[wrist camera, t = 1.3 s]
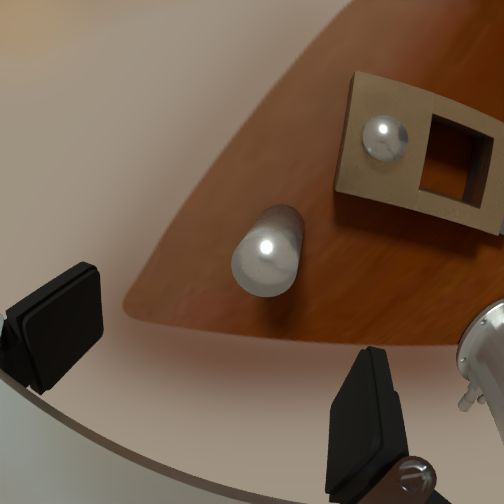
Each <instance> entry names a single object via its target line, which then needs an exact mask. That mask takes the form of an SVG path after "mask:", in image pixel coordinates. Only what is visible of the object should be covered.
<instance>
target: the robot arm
mask: <svg viewBox="0 0 504 504" xmlns="http://www.w3.org/2000/svg"><path fill="white" fill-rule="evenodd" d="M6 315H7V319H6V320H4V319H3V316H2V315H1V314H0V504H304V503H299V502H293V501H287V500H282V499H277V498H273V497H268V496H263V495H260V494H255V493H251V492H247V491H243V490H239V489H235V488H232V487H228V486H224V485H221V484H218V483H214V482H211V481H208V480H205V479H202V478H199V477H196V476H193V475H190V474H187V473H184V472H182V471H179V470H176V469H174V468H171V467H168V466H166V465H163V464H161V463H159V462H156V461H154V460H151V459H149V458H147V457H145V456H142V455H140V454H138V453H136V452H133V451H131V450H129V449H127V448H125V447H123V446H121V445H119V444H117V443H115V442H113V441H111V440H109V439H107V438H105V437H103V436H101V435H99V434H97V433H95V432H94V431H92V430H90V429H88V428H87V427H85V426H83V425H81V424H80V423H78V422H76V421H75V420H73V419H71V418H70V417H68V416H66V415H64V414H63V413H62V412H60V411H58V410H57V409H55V408H54V407H52V406H50V405H49V404H48V403H46V402H45V401H43V400H41V399H40V398H39V397H37V396H36V395H35V394H33V393H32V392H30V391H29V390H28V389H26V388H27V387H28V386H29V385H30V387H31V389H32V390H34V391H35V392H37V393H38V394H39V395H42V394H43V393H44V392H45V391H46V390H50V389H51V388H52V387H53V386H54V385H55V384H56V383H57V382H58V381H59V380H60V379H61V378H62V377H63V376H64V375H65V374H66V373H67V372H68V371H69V370H70V369H71V368H72V366H73V365H74V364H75V363H76V362H77V361H78V360H79V359H80V358H81V357H82V356H83V355H84V354H85V353H86V352H87V351H88V350H89V349H90V348H91V347H92V346H93V345H94V344H95V343H96V342H97V341H98V340H99V339H100V338H101V337H102V335H103V331H104V328H103V316H102V303H101V286H100V273H99V272H98V271H97V267H95V266H94V265H91V264H88V263H86V262H80V263H78V264H77V265H75V266H73V267H72V268H70V269H69V270H67V271H65V272H64V273H62V274H61V275H59V276H57V277H56V278H54V279H53V280H51V281H50V282H48V283H46V284H45V285H43V286H42V287H40V288H39V289H37V290H36V291H34V292H33V293H31V294H30V295H28V296H27V297H25V298H24V299H22V300H21V301H19V302H18V303H16V304H15V305H13V306H12V307H10V308H9V309H8V310H6ZM456 362H457V366H458V369H459V371H460V373H461V375H462V376H463V377H464V378H465V379H466V380H468V381H470V384H469V386H468V392H467V393H466V394H465V395H464V396H463V397H462V399H461V400H460V402H459V403H458V408H459V409H460V410H461V411H463V412H466V411H468V410H469V408H470V407H471V406H472V404H473V403H474V401H475V399H476V398H477V396H479V397H478V398H477V401H478V403H480V404H484V403H485V401H487V404H488V406H489V408H490V411H491V413H492V416H493V418H494V421H495V423H496V426H497V428H498V431H499V433H500V436H501V439H502V442H503V444H504V299H502V300H499V301H497V302H495V303H493V304H492V305H490V306H488V307H487V308H486V309H485V310H483V311H482V312H481V313H480V314H479V315H478V316H477V317H476V318H475V319H474V320H473V321H472V322H471V324H470V325H469V326H468V328H467V329H466V331H465V332H464V334H463V336H462V338H461V340H460V343H459V345H458V349H457V353H456ZM436 480H437V477H436V473H435V470H434V469H433V467H432V465H431V464H430V463H429V462H428V461H426V460H424V459H422V458H420V457H416V456H409V451H408V445H407V438H406V432H405V426H404V420H403V415H402V409H401V404H400V400H399V395H398V393H397V392H396V391H394V388H393V383H392V379H391V373H390V369H389V364H388V359H387V355H386V351H385V350H384V349H380V348H375V347H371V346H369V347H367V348H366V350H364V349H362V350H361V351H360V352H359V354H358V356H357V358H356V360H355V362H354V364H353V366H352V368H351V370H350V372H349V374H348V375H347V377H346V379H345V381H344V383H343V385H342V387H341V388H340V390H339V392H338V394H337V396H336V397H335V399H334V401H333V403H332V405H331V409H330V425H329V444H328V459H327V473H326V484H325V493H327V494H330V496H329V502H331V503H340V504H451V503H450V502H449V501H448V500H446V499H445V498H444V497H443V496H442V495H440V494H439V493H438V492H437V491H436V490H434V488H435V486H436Z"/></svg>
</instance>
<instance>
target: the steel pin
mask: <svg viewBox="0 0 504 504" xmlns="http://www.w3.org/2000/svg"><path fill="white" fill-rule="evenodd" d="M303 235H304V221H303V218H302V216H301V215H300V213H299V212H298V211H297V210H296V209H294V208H293V207H291V206H288V205H283V204H279V205H274V206H271V207H269V208H268V209H266V210H265V211H264V212H263V214H262V215H261V216H260V218H259V219H258V220H257V222H256V223H255V224H254V226H253V227H252V228H251V230H250V231H249V232H248V234H247V235H246V236H245V237H244V239H243V240H242V241H241V243H240V244H239V245H238V247H237V248H236V250H235V251H234V253H233V256H232V262H231V266H232V272H233V275H234V277H235V279H236V281H237V282H238V284H239V285H240V286H241V287H242V288H243V289H244V290H246V291H247V292H249V293H251V294H253V295H256V296H260V297H273V296H277V295H280V294H282V293H283V292H285V291H286V290H288V289H289V288H290V286H291V285H292V284H293V282H294V280H295V278H296V274H297V269H298V263H299V258H300V252H301V246H302V241H303Z"/></svg>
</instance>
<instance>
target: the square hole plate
mask: <svg viewBox="0 0 504 504" xmlns="http://www.w3.org/2000/svg"><path fill="white" fill-rule="evenodd" d="M431 121H433V122H436V123H439V124H442V125H445V126H447V127H450V128H453V129H455V130H458V131H460V132H463V133H465V134H468V135H470V136H473V137H475V138H474V145H473V151H472V156H471V162H470V167H469V172H468V177H467V181H466V186H465V190H464V195H463V199H462V200H460V199H457V198H454V197H451V196H448V195H445V194H442V193H438V192H435V191H432V190H429V189H425V188H422V187H419V184H420V180H421V175H422V170H423V165H424V160H425V155H426V150H427V144H428V138H429V132H430V126H431ZM333 185H334V188H335V191H337V192H342V193H346V194H351V195H355V196H359V197H364V198H368V199H372V200H376V201H380V202H384V203H388V204H392V205H396V206H400V207H404V208H407V209H411V210H415V211H419V212H422V213H426V214H429V215H433V216H436V217H440V218H443V219H447V220H450V221H453V222H457V223H460V224H463V225H466V226H470V227H473V228H476V229H479V230H482V231H485V232H488V233H491V234H494V235H497V236H498V235H499V233H500V234H503V235H504V123H502V122H500V121H498V120H496V119H494V118H492V117H490V116H488V115H486V114H484V113H482V112H479V111H477V110H475V109H473V108H470V107H468V106H466V105H463V104H461V103H458V102H456V101H453V100H451V99H448V98H445V97H443V96H440V95H437V94H435V93H432V92H429V91H426V90H423V89H420V88H417V87H414V86H411V85H408V84H405V83H401V82H398V81H394V80H391V79H387V78H384V77H380V76H376V75H372V74H368V73H364V72H360V71H355V72H354V74H353V76H352V78H351V80H350V87H349V94H348V101H347V108H346V114H345V120H344V127H343V133H342V139H341V144H340V150H339V156H338V161H337V167H336V172H335V177H334V182H333Z"/></svg>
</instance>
